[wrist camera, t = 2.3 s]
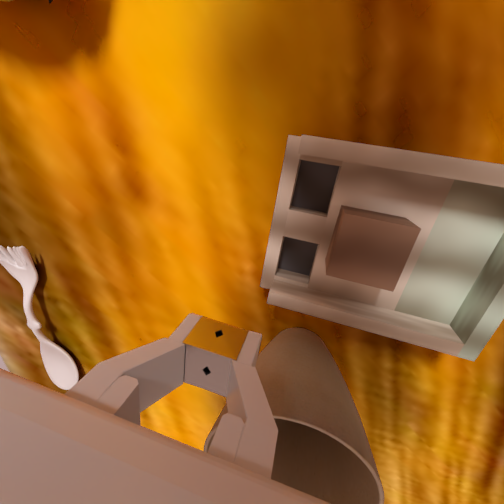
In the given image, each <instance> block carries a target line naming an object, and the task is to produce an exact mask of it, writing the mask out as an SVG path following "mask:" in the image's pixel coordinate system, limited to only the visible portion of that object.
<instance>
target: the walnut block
mask: <svg viewBox="0 0 504 504" xmlns="http://www.w3.org/2000/svg"><path fill="white" fill-rule="evenodd" d="M420 231H421V228H420V227H418V226H417V225H415V224H414V223H413V222H411V221H410V220H408V219H407V218H405V217H400V216H395V215H390V214H385V213H380V212H374V211H369V210H364V209H359V208H354V207H349V206H344V205H341V208H340V211H339V215H338V218H337V221H336V225H335V228H334V231H333V235H332V238H331V242H330V245H329V248H328V252H327V255H326V258H325V265H326V275H328V276H332V277H336V278H340V279H344V280H348V281H352V282H356V283H360V284H364V285H368V286H372V287H376V288H380V289H384V290H388V291H392V292H393V291H394V289H395V287H396V285H397V282H398V280H399V278H400V276H401V273H402V271H403V269H404V267H405V264H406V262H407V260H408V258H409V255H410V253H411V251H412V249H413V246H414V244H415V242H416V240H417V237H418V235H419V233H420Z"/></svg>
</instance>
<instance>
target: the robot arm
mask: <svg viewBox="0 0 504 504" xmlns="http://www.w3.org/2000/svg"><path fill="white" fill-rule="evenodd" d="M261 339H262V334H260V333H257V332H253V331H249V330H245V329H242V328H238V327H235V326H232V325H228V324H225V323H222V322H219V321H216V320H213V319H210V318H207V317H204V316H200V315H197V314H194V313H190V314H189V315H188V316H187V317H186V318H185V319H184V320H183V322H182V323H181V324H180V325H179V326H178V327H177V329H176V330H175V331H174V332H173V333H172V335H171V336H170V337H169V338H162V339H159V340H157V341H154V342H152V343H149V344H147V345H144V346H141V347H139V348H136V349H134V350H131V351H128V352H126V353H123V354H121V355H118V356H116V357H113V358H110V359H108V360H105V361H103V362H100V363H98V364H97V365H96V366H95V367H94V368H93V369H92V370H90V371H89V372H88V373H87V374H86V375H85V376H84V377H83V378H82V379H81V380H80V381H78V382H77V383H76V384H75V385H74V386H73V387H72V388H71V389H70V390H69V391H68V392H67V393H65V394H62V393H59V392H57V391H54V390H52V389H49V388H47V387H45V386H42V385H40V384H37V383H35V382H32V381H30V380H27V379H25V378H23V377H20V376H18V375H15V374H13V373H10V372H8V371H5V370H3V369H1V368H0V504H331V503H328V502H326V501H323V500H321V499H319V498H316V497H314V496H311V495H309V494H306V493H304V492H301V491H299V490H297V489H294V488H292V487H289V486H287V485H284V484H282V483H279V482H277V481H275V480H272V479H271V474H272V467H273V461H274V455H275V448H276V442H277V435H278V428H277V426H276V423H275V420H274V417H273V415H272V412H271V409H270V406H269V404H268V401H267V398H266V395H265V392H264V390H263V387H262V384H261V381H260V379H259V376H258V373H257V370H256V367H255V366H256V362H257V358H258V353H259V348H260V344H261ZM183 382H185V383H188V384H191V385H194V386H197V387H200V388H204V389H206V390H209V391H211V392H214V393H216V394H219V395H221V396H224V397H226V402H227V409H228V413H226V414H224V415H222V418H221V420H220V423H219V425H218V428H217V430H216V433H215V435H214V438H213V440H212V443H211V445H210V448H209V450H208V453H206V452H204V451H201V450H199V449H196V448H194V447H191V446H189V445H186V444H184V443H181V442H179V441H177V440H174V439H172V438H169V437H167V436H164V435H162V434H159V433H157V432H155V431H152V430H150V429H147V428H145V427H142V426H140V412H141V411H143V410H144V409H146V408H147V407H149V406H150V405H152V404H153V403H155V402H156V401H158V400H159V399H161V398H162V397H164V396H165V395H167V394H168V393H170V392H171V391H173V390H174V389H176V388H177V387H178V386H180V385H181V384H183Z"/></svg>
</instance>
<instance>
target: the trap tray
mask: <svg viewBox="0 0 504 504" xmlns="http://www.w3.org/2000/svg"><path fill="white" fill-rule="evenodd" d="M341 205H344V206H349V207H354V208H359V209H364V210H369V211H374V212H380V213H385V214H390V215H395V216H400V217H405V218H407V219H408V220H410V221H411V222H413V223H414V224H415V225H417V226H418V227H420V228H421V231H420V233H419V235H418V237H417V240H416V242H415V244H414V246H413V249H412V251H411V253H410V255H409V258H408V260H407V262H406V264H405V267H404V269H403V271H402V273H401V276H400V278H399V280H398V282H397V285H396V287H395V289H394V291H393V292H392V291H388V290H384V289H380V288H376V287H372V286H368V285H364V284H360V283H356V282H352V281H348V280H344V279H340V278H336V277H332V276H328V275H326V265H325V258H326V255H327V252H328V248H329V245H330V242H331V238H332V235H333V231H334V228H335V225H336V221H337V218H338V215H339V211H340V208H341ZM260 287H263V288H266V289H270V291H269V295H268V299H267V303H268V304H271V305H275V306H279V307H282V308H286V309H289V310H293V311H296V312H300V313H304V314H307V315H311V316H314V317H318V318H321V319H325V320H328V321H332V322H336V323H339V324H343V325H346V326H350V327H353V328H357V329H361V330H364V331H368V332H371V333H375V334H378V335H382V336H386V337H389V338H393V339H396V340H400V341H403V342H407V343H410V344H414V345H418V346H421V347H425V348H428V349H432V350H435V351H439V352H443V353H446V354H450V355H453V356H457V357H460V358H464V359H468V360H471V361H475V360H476V358H477V357H478V355H479V354H480V352H481V351H482V349H483V348H484V346H485V345H486V344H487V342H488V341H489V339H490V338H491V336H492V335H493V333H494V332H495V330H496V329H497V328H498V326H499V325H500V323H501V322H502V320H503V319H504V165H503V164H496V163H489V162H483V161H476V160H469V159H463V158H456V157H449V156H443V155H436V154H429V153H423V152H416V151H409V150H403V149H396V148H389V147H383V146H376V145H369V144H363V143H356V142H349V141H343V140H336V139H329V138H323V137H316V136H309V135H303V134H302V136H294V135H288V140H287V145H286V151H285V156H284V161H283V167H282V172H281V177H280V182H279V188H278V193H277V198H276V204H275V209H274V214H273V219H272V225H271V230H270V235H269V241H268V246H267V251H266V256H265V262H264V267H263V272H262V277H261V283H260Z"/></svg>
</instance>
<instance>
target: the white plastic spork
mask: <svg viewBox="0 0 504 504" xmlns="http://www.w3.org/2000/svg"><path fill="white" fill-rule="evenodd" d="M0 263H1V264H2V265H3V266H4V267H5V268H6V270H7V271H8V272H9V273H10V274H11V275H12V276H13V277H14V278H15V279H17V280H18V281H19V282H20V284H21V285H22V287H23V292H24V298H23V305H24V312H25V315H26V317H27V320H28V322H27V325H28V327H29V328H31V329H32V331H33V333H34V334H35V336H36V337H37V338H38V340H39V341H40V352H41V356H42V359H43V363H44V366H45V369H46V371H47V373H48V375H49V377H50V379H51V380H52V381H53V383H54V384H55V385H57V386H58V387H59V388H61V389H65V390H70V389H71V388H72V387H73V386H74V385H75V384H76V383H77V382H78V379H79V373H78V369H77V366H76V364H75V362H74V360H73V358H72V357H71V356H70V355H69V353H68V352H66V351H65V350H64V349H63V348H61V347H60V346H59V345H57V344H55V343H54V342H52V341H51V340H49V339H48V338H47V337H46V336H45V335H44V334H43V333H42V331H41V329H40V328H41V327H42V325H41V323H40V322H39V321H38V320H37V318H36V316H35V314H34V312H33V308H32V299H33V294H34V290H35V288H36V285H37V283H38V273H37V270H36V268H35V266H34V263H33V260H32V257H31V255H30V253H29V251H28V250H27V249H26V247H24V246H20V247H17V248H16V247H13V249H12V248H10V247H7V249H6V248H4V247H3V246H0Z"/></svg>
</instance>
